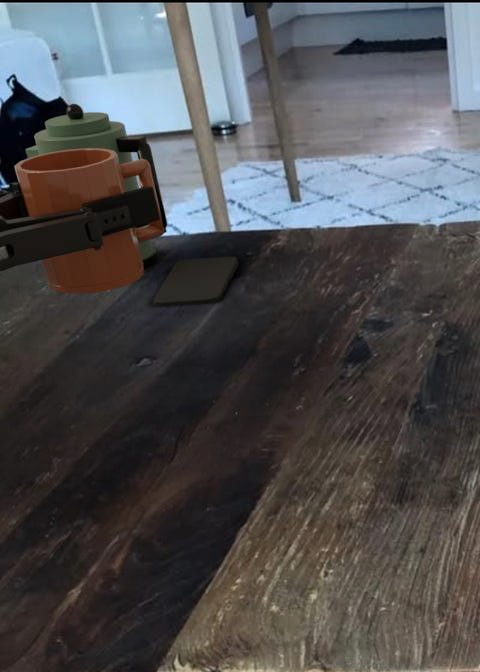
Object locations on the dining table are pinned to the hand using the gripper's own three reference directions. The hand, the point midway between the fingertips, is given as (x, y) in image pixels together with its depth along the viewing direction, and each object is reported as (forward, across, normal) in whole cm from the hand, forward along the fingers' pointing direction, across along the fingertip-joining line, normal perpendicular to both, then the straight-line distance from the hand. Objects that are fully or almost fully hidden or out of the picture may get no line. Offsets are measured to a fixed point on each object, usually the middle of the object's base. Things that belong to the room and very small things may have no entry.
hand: (124, 196), depth 100 cm
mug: (-3, 0, -6) cm, 7 cm away
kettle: (+14, -31, -15) cm, 37 cm away
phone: (+15, -15, -15) cm, 26 cm away
